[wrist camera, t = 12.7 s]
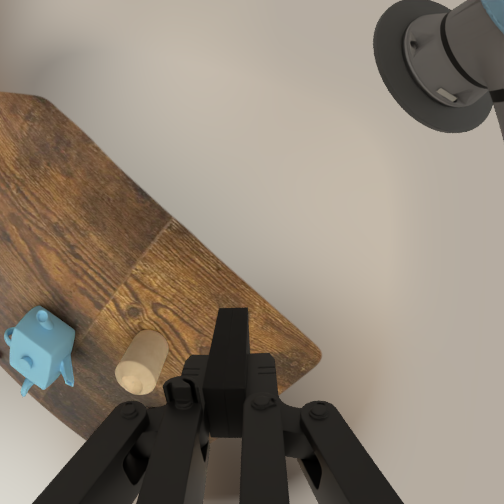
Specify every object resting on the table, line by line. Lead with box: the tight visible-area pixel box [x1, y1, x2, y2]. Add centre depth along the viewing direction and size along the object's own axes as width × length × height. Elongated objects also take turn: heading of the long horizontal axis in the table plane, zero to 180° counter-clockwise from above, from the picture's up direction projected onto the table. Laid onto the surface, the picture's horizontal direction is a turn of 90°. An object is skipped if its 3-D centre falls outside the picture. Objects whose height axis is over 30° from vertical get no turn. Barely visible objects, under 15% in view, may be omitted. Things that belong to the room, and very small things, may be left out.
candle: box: [115, 330, 169, 395], centre depth 40 cm, size 6×6×10 cm
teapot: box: [4, 306, 75, 396], centre depth 40 cm, size 18×14×10 cm
